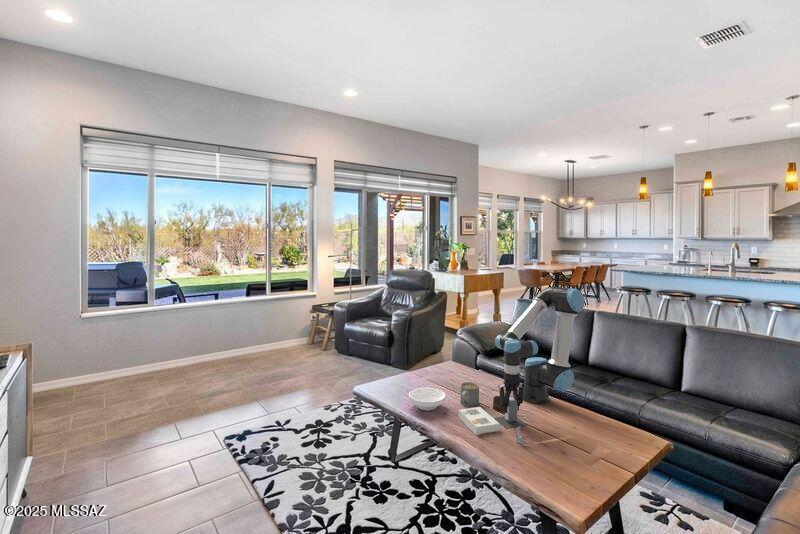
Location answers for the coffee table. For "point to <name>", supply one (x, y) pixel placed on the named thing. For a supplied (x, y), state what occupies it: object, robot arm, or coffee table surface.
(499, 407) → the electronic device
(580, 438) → the coffee table surface
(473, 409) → the socket block
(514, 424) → the mat
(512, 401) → the plug
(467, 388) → the coffee mug
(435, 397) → the bowl
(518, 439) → the architectural model
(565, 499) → the coffee table surface
